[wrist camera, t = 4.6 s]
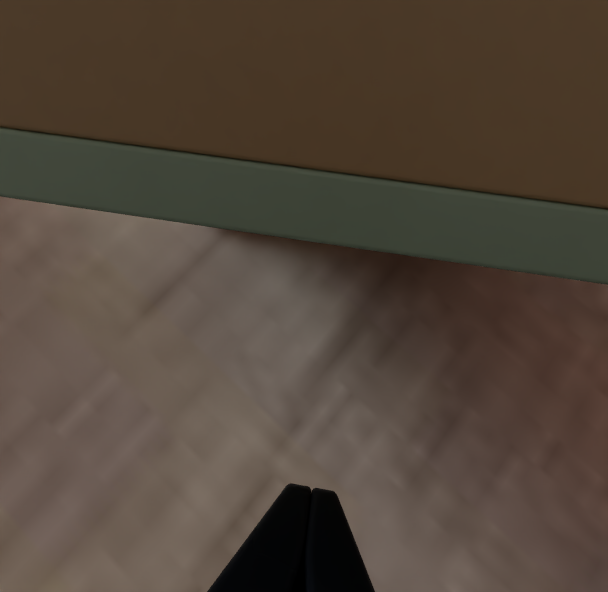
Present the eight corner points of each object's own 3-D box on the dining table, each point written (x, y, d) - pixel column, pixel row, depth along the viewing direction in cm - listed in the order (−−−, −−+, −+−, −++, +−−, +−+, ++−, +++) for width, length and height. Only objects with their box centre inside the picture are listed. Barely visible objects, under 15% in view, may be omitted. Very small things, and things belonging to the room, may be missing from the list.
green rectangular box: (507, 180, 18) (803, 314, 6) (213, 141, 19) (-51, 190, 7) (548, 37, 16) (1109, -192, 4) (218, -1, 17) (-139, -285, 5)
